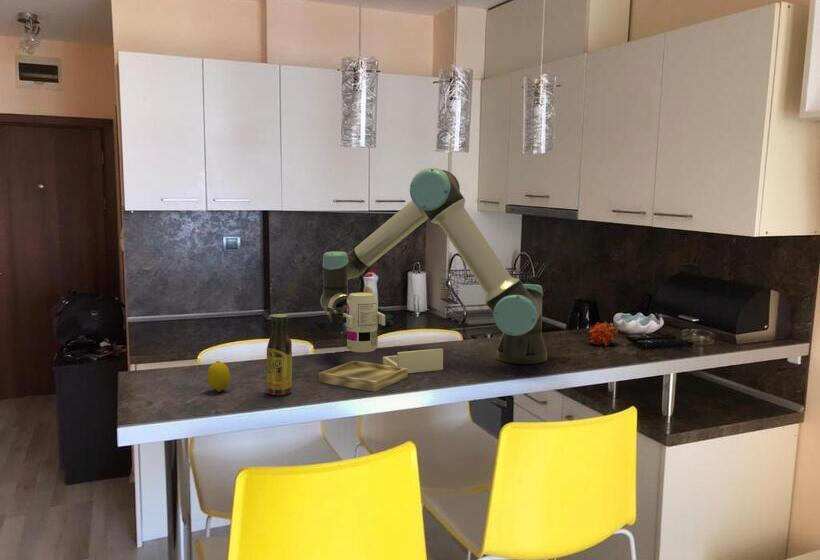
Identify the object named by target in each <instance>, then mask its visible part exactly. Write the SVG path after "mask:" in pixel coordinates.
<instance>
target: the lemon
mask: <svg viewBox="0 0 820 560" xmlns="http://www.w3.org/2000/svg"><path fill="white" fill-rule="evenodd" d="M206 376H207V377H206V379H207V384H208V385H209V387H210V388H212V389H213V390H215V391H217V392H218V393H221V392H222V390H223V389H226V388H227V387H228V385H229V384H230V380H231V372H230V369H229V367H228V366H227V365H226V364H225V363H224V362H221V361H220V360H217V361H216V362H214V363H212V364H211V365H210V366H209V367H208V370H207V374H206ZM220 391H221V392H220Z"/></svg>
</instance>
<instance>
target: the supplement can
mask: <svg viewBox="0 0 820 560" xmlns="http://www.w3.org/2000/svg"><path fill="white" fill-rule="evenodd" d="M348 296H349V297H348V298H347V314H348V315H350V316H351V317H353V328H350V327H348V326H346V342H347V343H346V348H347V349H349V351H351V352H353V353H371V352H374V351H376V349H377V348H378V347H379V345H378V343H379V342H378V341H379V339H378V336H379V335H378V334H379V333H378V332H379V330H378V327H379V326H378V324H379V323H378V307H379V306H378V301H379V300H378V298H377V296H376V293H373V292H366V291H365V292H364V291H363V292H351V293H348Z"/></svg>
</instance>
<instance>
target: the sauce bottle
mask: <svg viewBox="0 0 820 560" xmlns="http://www.w3.org/2000/svg"><path fill="white" fill-rule="evenodd" d="M270 321H271V334H270V337H269V340H268V342H267V347H266V391H267V394H268V395H271V396H278V397H280V396H285V395H288V394H290V393H291V392H292V385H293V384H292V383H293V350H292V348H293V346H292V345H293V344H292V340H291V339H292V338H290V336H289V334H288V322H289V316H288V314H284V313H279V314H278V313H277V314H273V315H271V320H270Z"/></svg>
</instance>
